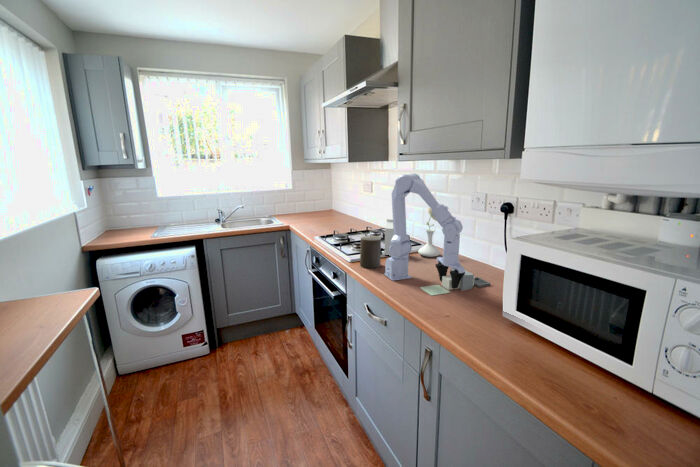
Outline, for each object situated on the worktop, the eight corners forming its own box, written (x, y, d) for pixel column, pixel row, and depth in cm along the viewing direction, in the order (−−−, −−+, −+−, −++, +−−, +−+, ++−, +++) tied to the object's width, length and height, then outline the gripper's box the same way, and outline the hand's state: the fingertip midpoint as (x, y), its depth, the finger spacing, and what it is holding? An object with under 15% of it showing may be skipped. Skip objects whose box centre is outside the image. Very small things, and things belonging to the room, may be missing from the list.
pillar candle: (367, 270, 146) (368, 238, 143) (356, 264, 155) (356, 234, 151) (384, 266, 151) (385, 236, 148) (372, 261, 159) (373, 232, 156)
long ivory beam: (448, 289, 123) (449, 280, 122) (441, 285, 127) (442, 276, 126) (473, 285, 127) (474, 276, 126) (466, 281, 131) (466, 272, 130)
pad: (431, 295, 119) (431, 295, 119) (419, 287, 126) (419, 287, 126) (450, 292, 122) (450, 292, 121) (438, 284, 129) (438, 284, 129)
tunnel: (462, 290, 123) (463, 276, 122) (449, 283, 131) (450, 269, 129) (472, 288, 125) (473, 274, 124) (459, 281, 132) (460, 268, 131)
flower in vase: (441, 258, 162) (445, 210, 157) (419, 258, 164) (421, 210, 158) (437, 251, 175) (440, 206, 169) (416, 251, 176) (418, 206, 170)
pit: (477, 287, 126) (478, 285, 126) (465, 281, 133) (465, 278, 133) (490, 285, 128) (490, 283, 128) (477, 279, 135) (477, 277, 135)
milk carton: (397, 257, 165) (398, 221, 161) (384, 255, 168) (385, 220, 163) (400, 253, 172) (401, 219, 168) (387, 252, 174) (388, 218, 170)
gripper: (472, 255, 117) (469, 289, 120) (447, 245, 130) (445, 277, 133) (456, 257, 115) (453, 292, 118) (433, 247, 128) (431, 279, 131)
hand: (448, 284), depth 125 cm, fingers open, 7 cm apart
